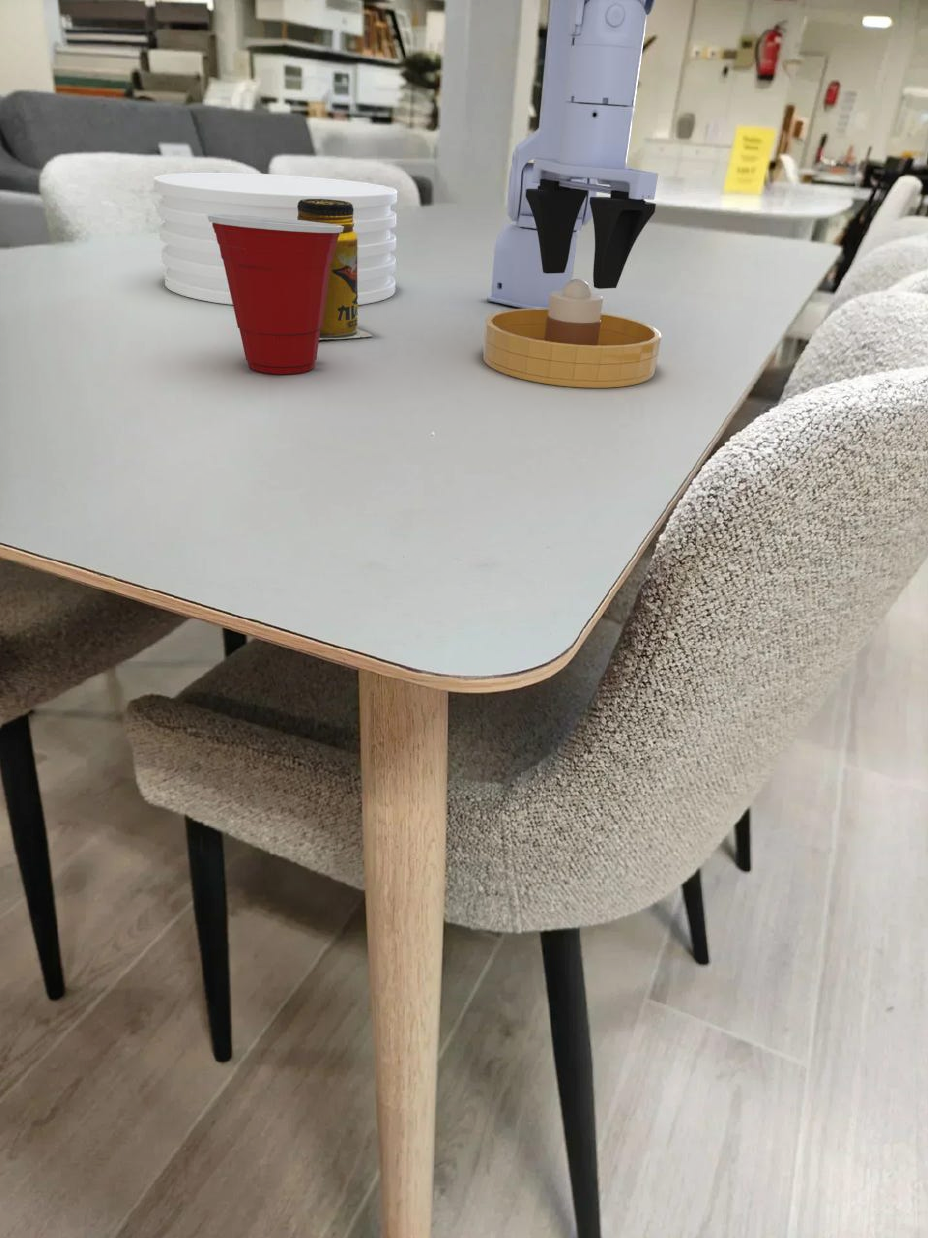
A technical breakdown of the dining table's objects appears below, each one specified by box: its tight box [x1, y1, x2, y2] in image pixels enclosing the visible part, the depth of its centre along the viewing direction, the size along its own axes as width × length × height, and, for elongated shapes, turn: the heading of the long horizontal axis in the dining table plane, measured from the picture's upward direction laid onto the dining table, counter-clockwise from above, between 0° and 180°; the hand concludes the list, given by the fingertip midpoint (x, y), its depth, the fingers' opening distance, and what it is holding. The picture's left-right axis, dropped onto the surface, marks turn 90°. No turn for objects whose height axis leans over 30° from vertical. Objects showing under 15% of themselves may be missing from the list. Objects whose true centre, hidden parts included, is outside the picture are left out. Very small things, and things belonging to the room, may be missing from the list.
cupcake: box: [544, 278, 604, 346], centre depth 79 cm, size 5×5×7 cm
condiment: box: [297, 199, 373, 341], centre depth 84 cm, size 7×8×12 cm
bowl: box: [482, 308, 662, 389], centre depth 81 cm, size 16×16×4 cm
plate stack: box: [153, 172, 398, 306], centre depth 104 cm, size 28×28×12 cm
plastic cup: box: [207, 214, 344, 375], centre depth 72 cm, size 11×11×12 cm
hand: (578, 279), depth 78 cm, fingers open, 7 cm apart
